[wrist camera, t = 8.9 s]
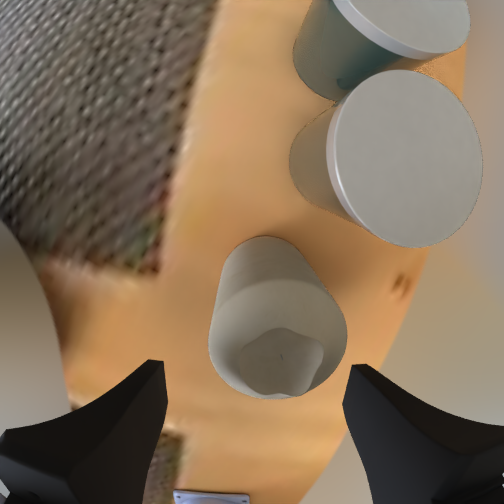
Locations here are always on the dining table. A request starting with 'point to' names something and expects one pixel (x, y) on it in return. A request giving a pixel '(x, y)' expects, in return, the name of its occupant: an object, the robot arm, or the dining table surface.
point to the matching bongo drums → (386, 119)
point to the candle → (274, 322)
